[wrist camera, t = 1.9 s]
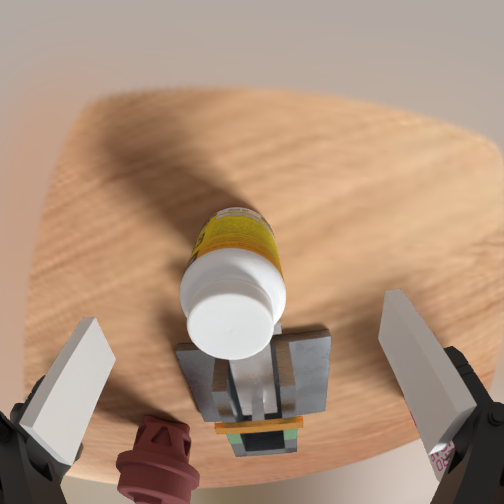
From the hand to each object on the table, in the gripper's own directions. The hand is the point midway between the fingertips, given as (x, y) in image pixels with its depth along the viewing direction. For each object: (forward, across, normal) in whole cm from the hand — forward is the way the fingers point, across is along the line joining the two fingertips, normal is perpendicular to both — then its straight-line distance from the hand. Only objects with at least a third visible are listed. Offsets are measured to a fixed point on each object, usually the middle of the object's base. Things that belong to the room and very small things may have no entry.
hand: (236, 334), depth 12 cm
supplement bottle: (+11, 0, 0) cm, 11 cm away
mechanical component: (+11, -14, -25) cm, 30 cm away
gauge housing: (+11, 0, -16) cm, 19 cm away
